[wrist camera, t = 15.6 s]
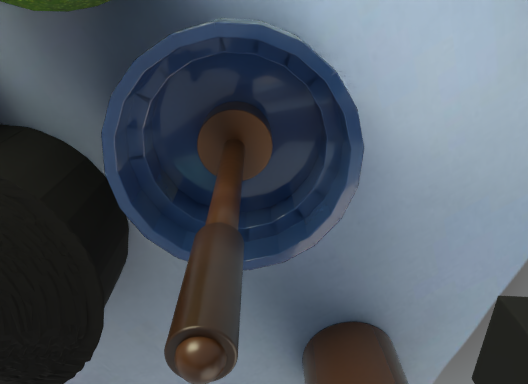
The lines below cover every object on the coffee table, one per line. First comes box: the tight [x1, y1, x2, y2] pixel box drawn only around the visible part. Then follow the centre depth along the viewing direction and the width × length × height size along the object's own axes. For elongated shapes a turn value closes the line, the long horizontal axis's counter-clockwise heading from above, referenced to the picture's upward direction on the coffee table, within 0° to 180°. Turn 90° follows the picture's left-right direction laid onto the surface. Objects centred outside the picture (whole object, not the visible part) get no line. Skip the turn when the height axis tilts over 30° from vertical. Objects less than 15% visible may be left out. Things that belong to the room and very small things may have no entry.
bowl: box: [101, 18, 364, 270], centre depth 29 cm, size 16×16×6 cm
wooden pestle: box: [164, 101, 273, 384], centre depth 21 cm, size 5×5×22 cm
